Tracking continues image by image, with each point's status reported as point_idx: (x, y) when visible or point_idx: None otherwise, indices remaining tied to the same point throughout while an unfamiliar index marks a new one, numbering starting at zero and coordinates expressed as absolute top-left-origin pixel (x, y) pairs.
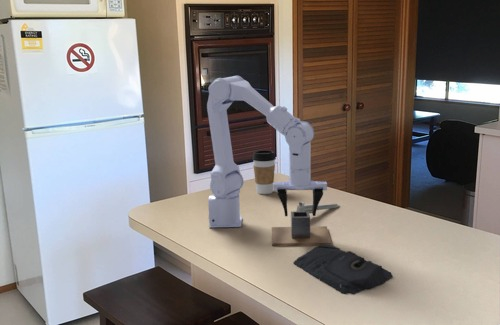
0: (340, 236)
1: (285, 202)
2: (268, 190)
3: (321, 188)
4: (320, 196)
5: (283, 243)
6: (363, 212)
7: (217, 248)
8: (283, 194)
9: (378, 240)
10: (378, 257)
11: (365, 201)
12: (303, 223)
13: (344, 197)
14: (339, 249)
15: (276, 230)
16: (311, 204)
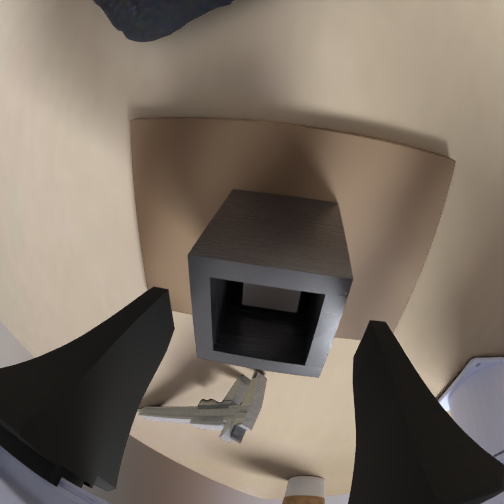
0: (102, 218)
1: (419, 418)
2: (300, 482)
3: (7, 452)
4: (4, 376)
5: (399, 144)
6: None
7: None
8: (472, 501)
9: (9, 172)
10: (19, 32)
11: None
12: (255, 235)
13: (134, 429)
14: (105, 3)
15: (382, 310)
16: (198, 427)
